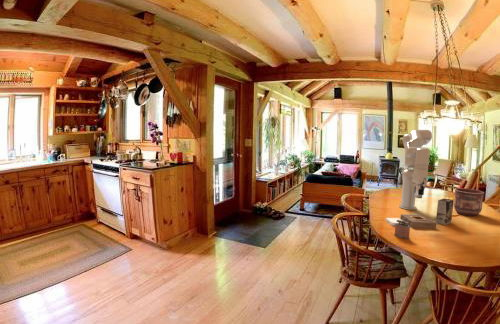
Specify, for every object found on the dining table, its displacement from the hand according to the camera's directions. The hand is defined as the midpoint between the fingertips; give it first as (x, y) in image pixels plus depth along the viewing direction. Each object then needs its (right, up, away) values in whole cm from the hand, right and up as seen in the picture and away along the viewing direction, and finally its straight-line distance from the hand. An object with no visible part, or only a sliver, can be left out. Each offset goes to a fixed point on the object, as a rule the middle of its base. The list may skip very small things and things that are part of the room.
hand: (419, 193), depth 182 cm
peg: (0, -3, 0) cm, 3 cm away
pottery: (+53, -19, +26) cm, 62 cm away
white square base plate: (-14, -21, +3) cm, 25 cm away
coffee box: (+20, -21, +5) cm, 30 cm away
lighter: (-23, -24, -20) cm, 38 cm away
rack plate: (0, -21, +2) cm, 21 cm away
